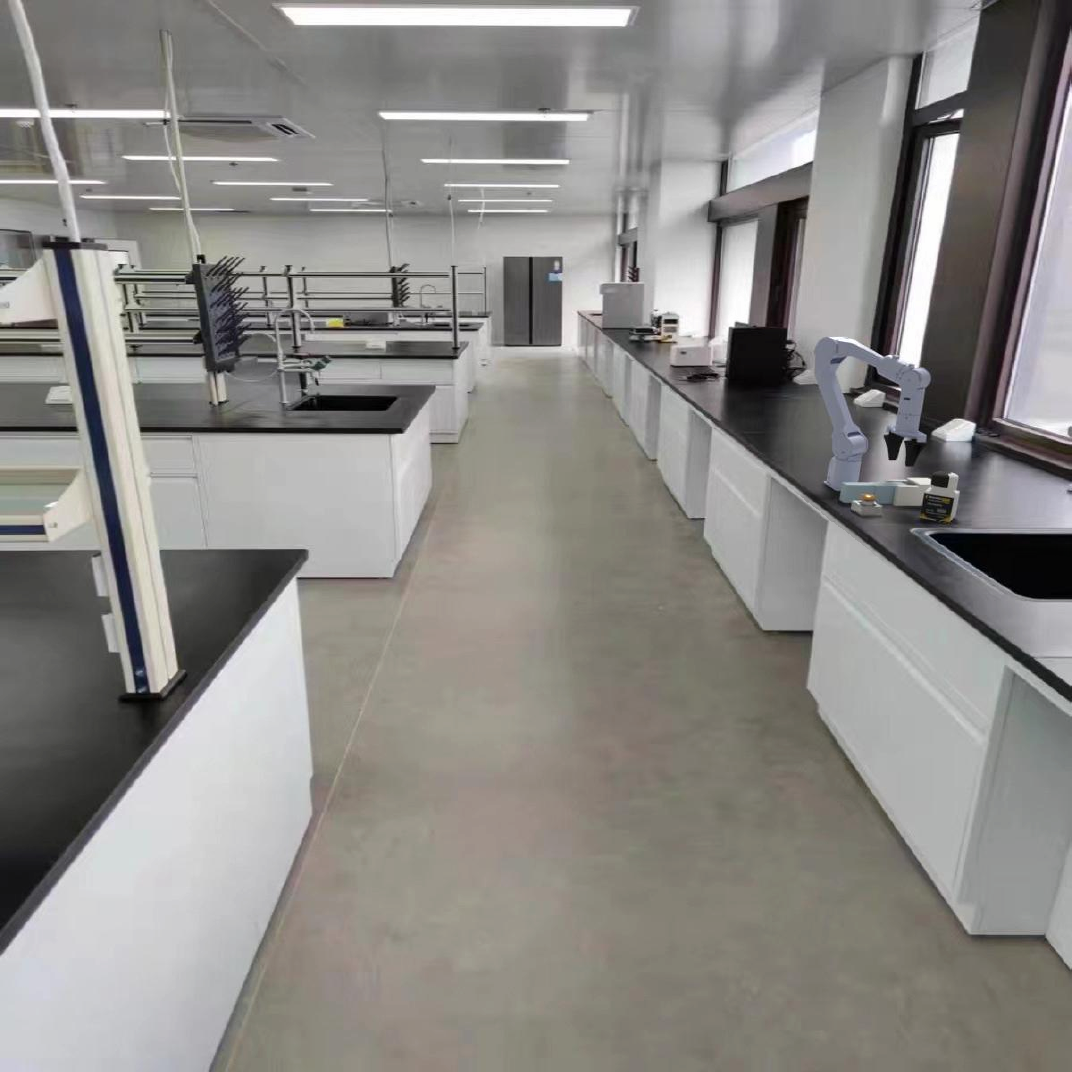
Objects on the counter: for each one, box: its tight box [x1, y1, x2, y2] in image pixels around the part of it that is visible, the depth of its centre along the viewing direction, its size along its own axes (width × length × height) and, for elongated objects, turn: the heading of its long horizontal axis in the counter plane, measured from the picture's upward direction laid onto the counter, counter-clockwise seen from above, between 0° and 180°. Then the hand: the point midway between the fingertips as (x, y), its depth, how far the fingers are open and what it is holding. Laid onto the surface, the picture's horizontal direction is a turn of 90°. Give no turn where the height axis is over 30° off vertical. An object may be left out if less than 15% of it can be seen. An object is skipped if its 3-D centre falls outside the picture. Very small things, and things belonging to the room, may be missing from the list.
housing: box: [884, 477, 931, 507], centre depth 210 cm, size 7×12×6 cm, turn 93°
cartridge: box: [839, 481, 908, 505], centre depth 209 cm, size 4×17×5 cm, turn 93°
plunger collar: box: [850, 501, 884, 516], centre depth 200 cm, size 6×6×2 cm
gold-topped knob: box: [861, 494, 877, 506], centre depth 200 cm, size 4×4×4 cm
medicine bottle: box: [919, 470, 961, 523], centre depth 196 cm, size 7×7×12 cm
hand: (900, 463), depth 210 cm, fingers open, 7 cm apart
